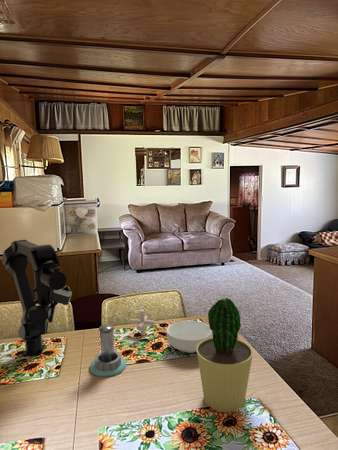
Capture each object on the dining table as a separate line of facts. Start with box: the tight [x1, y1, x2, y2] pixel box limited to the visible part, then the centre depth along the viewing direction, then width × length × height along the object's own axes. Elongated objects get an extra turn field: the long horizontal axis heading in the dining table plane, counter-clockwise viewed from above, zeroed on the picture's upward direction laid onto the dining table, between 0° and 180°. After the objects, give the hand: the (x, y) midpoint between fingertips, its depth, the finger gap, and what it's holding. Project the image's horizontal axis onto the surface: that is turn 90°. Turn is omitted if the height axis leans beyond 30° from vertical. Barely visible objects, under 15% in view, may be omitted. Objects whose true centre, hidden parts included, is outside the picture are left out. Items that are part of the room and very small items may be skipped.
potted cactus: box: [196, 297, 254, 413], centre depth 92 cm, size 15×15×30 cm
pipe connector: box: [129, 309, 156, 336], centre depth 134 cm, size 10×10×10 cm
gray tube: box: [98, 323, 115, 363], centre depth 111 cm, size 5×5×13 cm
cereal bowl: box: [166, 320, 213, 354], centre depth 123 cm, size 17×17×7 cm
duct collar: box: [89, 350, 127, 378], centre depth 112 cm, size 12×12×3 cm
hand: (47, 328), depth 112 cm, fingers open, 9 cm apart
